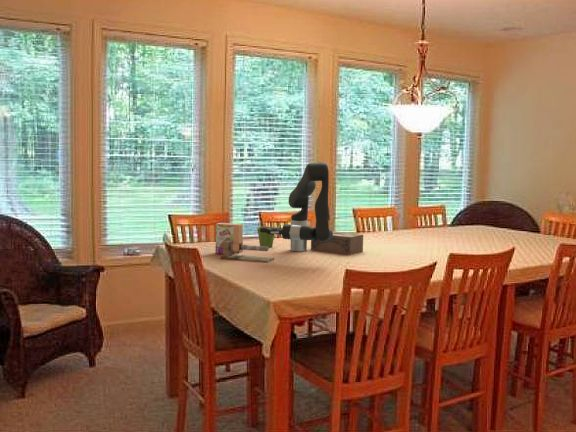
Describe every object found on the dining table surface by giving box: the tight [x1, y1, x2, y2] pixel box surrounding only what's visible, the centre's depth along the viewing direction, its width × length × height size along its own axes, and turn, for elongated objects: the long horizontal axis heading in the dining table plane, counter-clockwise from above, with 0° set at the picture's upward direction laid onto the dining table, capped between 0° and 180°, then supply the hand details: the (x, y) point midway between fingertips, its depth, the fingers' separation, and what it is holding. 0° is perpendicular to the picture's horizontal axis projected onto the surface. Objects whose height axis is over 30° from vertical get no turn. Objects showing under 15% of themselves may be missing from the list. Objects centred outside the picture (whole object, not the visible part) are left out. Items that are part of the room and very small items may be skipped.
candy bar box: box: [215, 222, 237, 255], centre depth 336 cm, size 11×5×16 cm, turn 74°
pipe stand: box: [219, 241, 275, 264], centre depth 322 cm, size 10×26×8 cm, turn 72°
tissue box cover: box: [310, 230, 364, 256], centre depth 356 cm, size 26×14×10 cm, turn 55°
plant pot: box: [256, 226, 275, 249], centre depth 363 cm, size 12×12×11 cm
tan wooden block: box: [233, 223, 244, 255], centre depth 323 cm, size 6×3×15 cm, turn 162°
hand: (260, 229), depth 319 cm, fingers closed
